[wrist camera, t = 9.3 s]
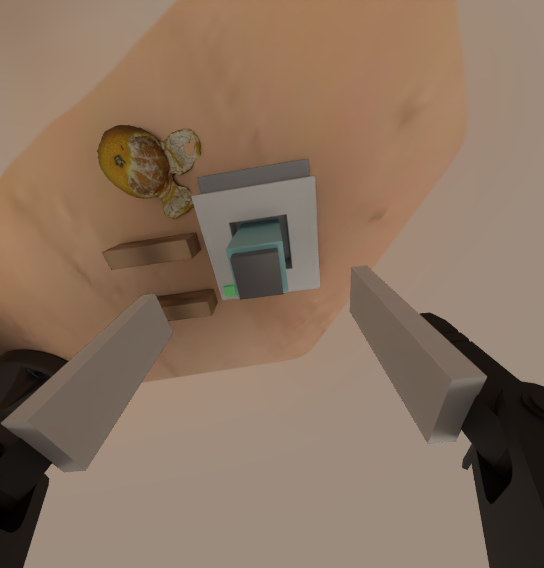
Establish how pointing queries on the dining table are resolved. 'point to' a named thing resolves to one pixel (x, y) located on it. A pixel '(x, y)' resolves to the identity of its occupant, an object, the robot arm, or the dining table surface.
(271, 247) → the plug
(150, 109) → the dining table surface
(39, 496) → the robot arm
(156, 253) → the pair of wooden rails
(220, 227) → the port
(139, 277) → the dining table surface
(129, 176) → the fruit
